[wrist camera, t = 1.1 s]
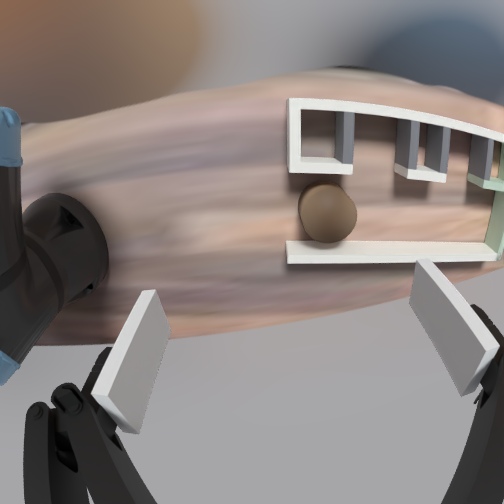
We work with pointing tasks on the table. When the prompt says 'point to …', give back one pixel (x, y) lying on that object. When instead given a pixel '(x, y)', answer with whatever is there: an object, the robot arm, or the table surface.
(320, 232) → the brown rounded cylinder
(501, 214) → the box
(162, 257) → the table surface
